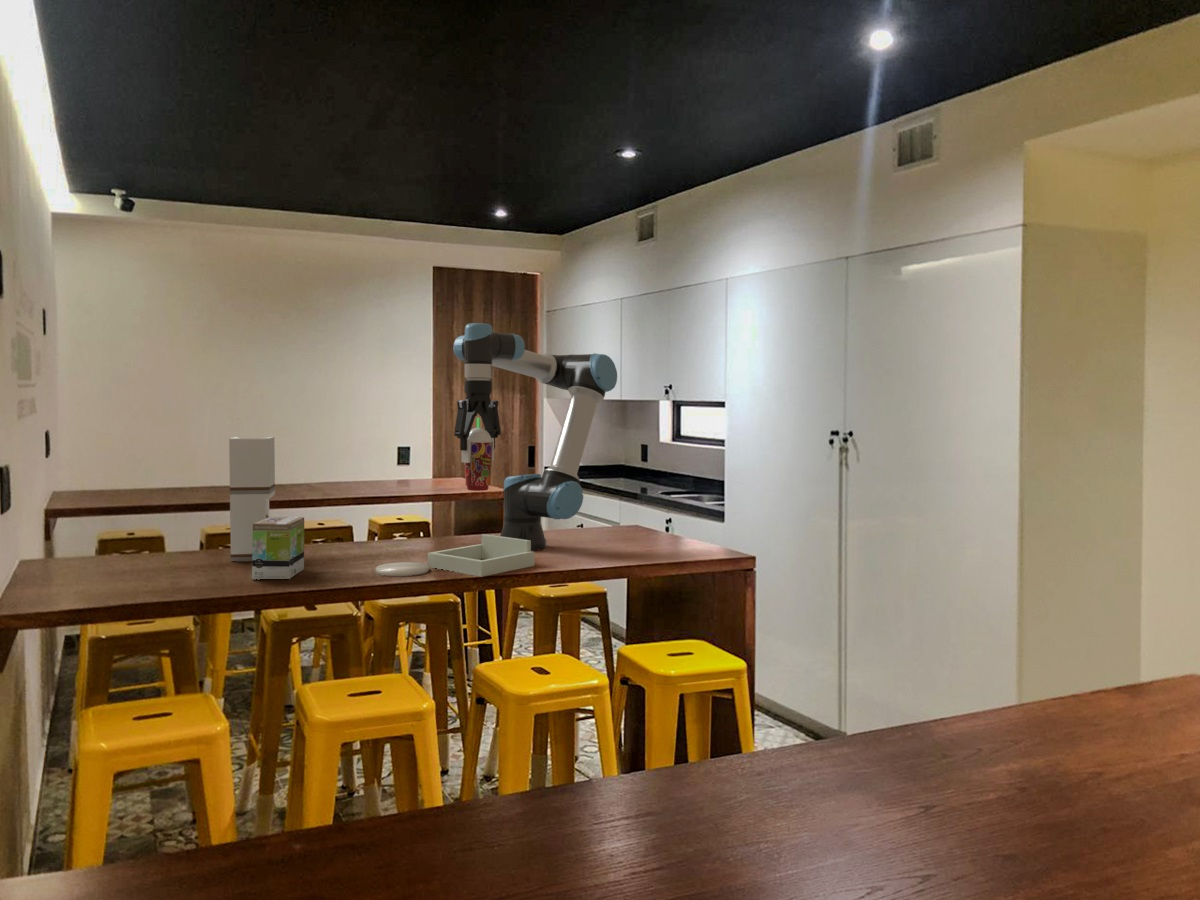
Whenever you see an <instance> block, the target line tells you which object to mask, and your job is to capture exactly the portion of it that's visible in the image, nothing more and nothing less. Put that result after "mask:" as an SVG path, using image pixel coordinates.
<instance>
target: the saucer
mask: <svg viewBox="0 0 1200 900" xmlns="http://www.w3.org/2000/svg"><path fill="white" fill-rule="evenodd" d="M429 571H430V570H429V566H428V564H426V563H423V562H410V561H409V562H407V561H405V562H403V561H402V562H390V563H383V564H380V565H378V566H375V574H377V575H379V576H384V575H386V576H387V577H411V576H413V575H414V576H419V575H424V574H427V573H428V572H429ZM426 572H427V573H426ZM386 576H385V577H386Z"/></svg>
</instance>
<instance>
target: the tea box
mask: <svg viewBox="0 0 1200 900" xmlns="http://www.w3.org/2000/svg"><path fill="white" fill-rule="evenodd" d="M304 569H305V517H302V516H299V517H298V516H269V517H268V518H265V519H263V520H260V521H258V522H256V523H253V542H252V561H251V579H252V580H256V579H257V580H258V581H260V579H289V580H290V579H291V578H293V577H294V576H295V575H297V574H299V573H300V572H302V571H303V570H304Z"/></svg>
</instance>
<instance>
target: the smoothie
mask: <svg viewBox="0 0 1200 900" xmlns="http://www.w3.org/2000/svg"><path fill="white" fill-rule="evenodd" d="M467 439H471V456H470V463H464V462H463V463H464V465H463V466H464V479H465V480H464V481H465V483H464V484H465V486H466V488H467V490H468V491H473V492H476V491H477V492H478V491H479V492H481V491H488V490H489V488H490V487H489V486H491V475H492V462H493V461H492V448H493V440H492V438H491V436H490V434H489V433H488V432H487V431H486V430H485V428H482V427H480V417H477V418H476V427H473V428H471V431H470V434H469V437H468V438H467Z"/></svg>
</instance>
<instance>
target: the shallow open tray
mask: <svg viewBox="0 0 1200 900" xmlns="http://www.w3.org/2000/svg"><path fill="white" fill-rule="evenodd" d="M535 554H536V553H535V551H531V540H523V539H516V538H509V537H502V536H500V535H493V534H485V533H484V534H481V543H478V544H471V545H468V546H462V547H460V546H459V547H456V548H449V549H442V550H438V551H431V552H427V565H428V566H429V567H431V568H430V569H435V568H437V569H436V570H441V569H443V570H442V571H446V570H449V571H448V572H452V571H454V572H453V573H458V572H459V574H464V575H470V576H476V577H482V578H483V577H487V576H492V575H496V574H500V573H501V574H502V573H505V572H511V571H516V570H520V569H526V568H530V567H535V562H536V561H535V558H536V557H535ZM481 559H482V560H481Z"/></svg>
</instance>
